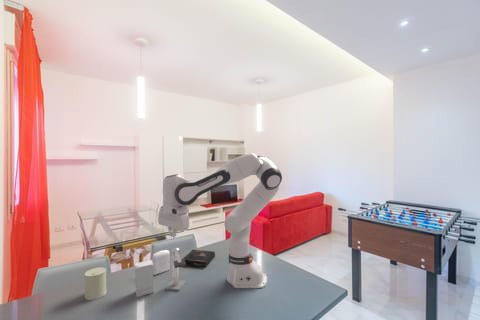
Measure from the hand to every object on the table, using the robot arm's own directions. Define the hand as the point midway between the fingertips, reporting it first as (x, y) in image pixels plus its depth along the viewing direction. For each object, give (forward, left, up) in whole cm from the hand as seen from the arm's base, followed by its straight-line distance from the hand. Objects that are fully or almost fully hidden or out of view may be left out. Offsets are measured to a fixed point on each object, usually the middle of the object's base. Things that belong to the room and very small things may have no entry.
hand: (172, 236), depth 109 cm
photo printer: (+20, -22, -30) cm, 42 cm away
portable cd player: (+3, -40, -31) cm, 51 cm away
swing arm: (-1, -2, -12) cm, 12 cm away
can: (+40, +5, -30) cm, 50 cm away
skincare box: (+17, -1, -30) cm, 34 cm away
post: (+4, -9, -30) cm, 31 cm away
